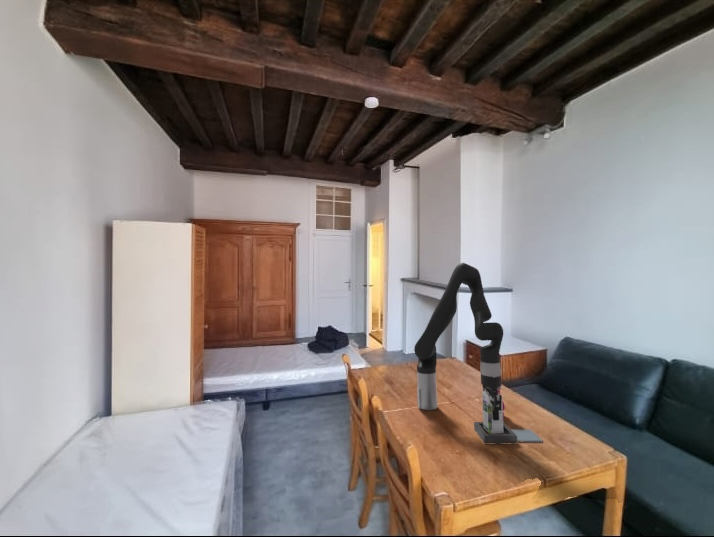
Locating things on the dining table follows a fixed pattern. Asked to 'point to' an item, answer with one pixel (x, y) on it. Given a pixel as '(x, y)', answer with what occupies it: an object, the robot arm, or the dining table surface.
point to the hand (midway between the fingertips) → (492, 416)
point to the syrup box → (488, 421)
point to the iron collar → (495, 438)
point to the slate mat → (527, 436)
